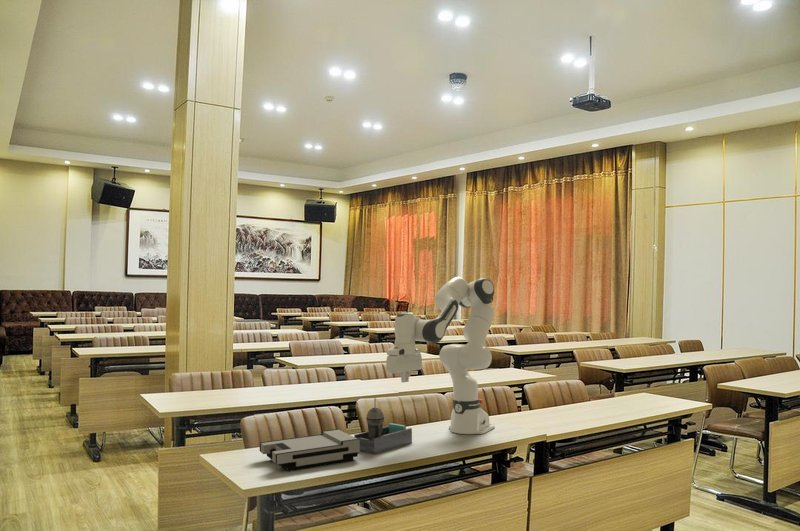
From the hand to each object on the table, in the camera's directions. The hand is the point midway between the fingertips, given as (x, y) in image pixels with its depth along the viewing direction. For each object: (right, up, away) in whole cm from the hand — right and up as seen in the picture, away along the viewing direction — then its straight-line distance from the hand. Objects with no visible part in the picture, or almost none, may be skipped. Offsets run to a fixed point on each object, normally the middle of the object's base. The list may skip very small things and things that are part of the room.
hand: (405, 382), depth 258 cm
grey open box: (-9, -24, -12) cm, 28 cm away
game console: (-36, -24, -32) cm, 54 cm away
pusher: (-3, -23, -5) cm, 24 cm away
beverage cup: (-12, -23, -17) cm, 31 cm away
